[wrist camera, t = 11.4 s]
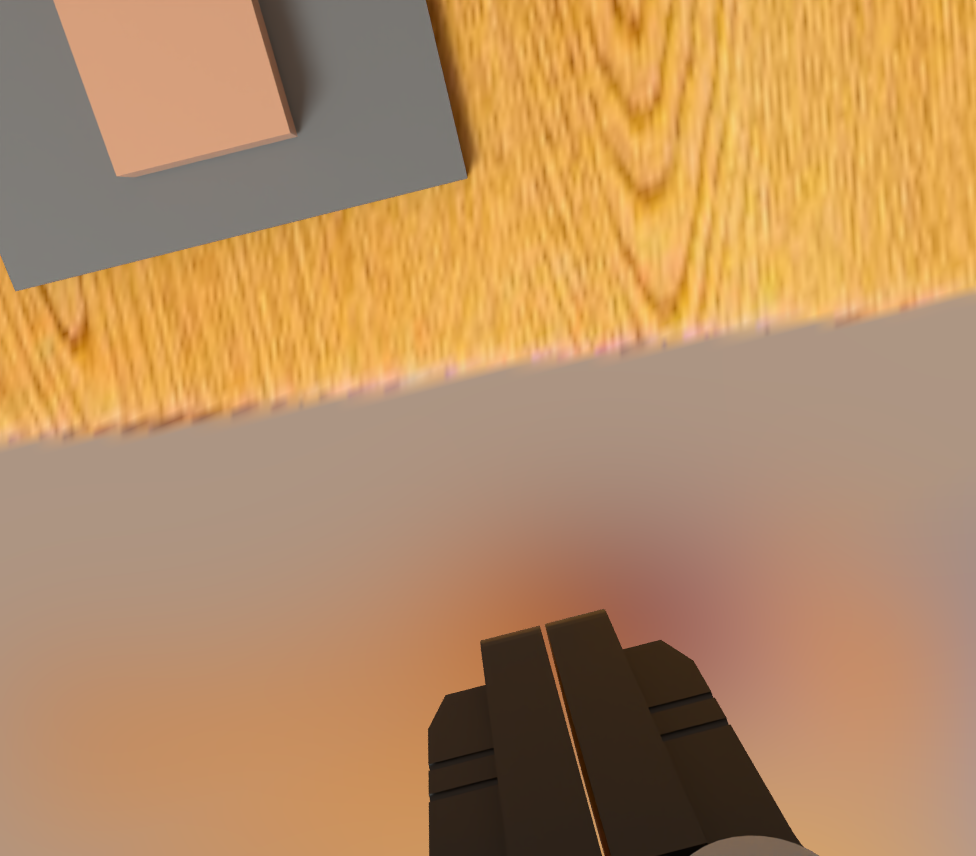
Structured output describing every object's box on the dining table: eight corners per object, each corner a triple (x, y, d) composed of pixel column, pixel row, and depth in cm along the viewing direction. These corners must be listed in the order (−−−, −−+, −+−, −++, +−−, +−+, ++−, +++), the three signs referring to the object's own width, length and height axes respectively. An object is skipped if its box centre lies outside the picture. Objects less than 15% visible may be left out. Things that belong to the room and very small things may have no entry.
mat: (380, -185, 31) (379, -197, 30) (466, 178, 35) (467, 178, 35) (-117, -63, 31) (-134, -71, 30) (26, 288, 35) (15, 291, 34)
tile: (298, 137, 34) (219, -134, 31) (290, 132, 31) (204, -158, 29) (135, 177, 33) (41, -90, 31) (116, 176, 31) (13, -111, 28)
